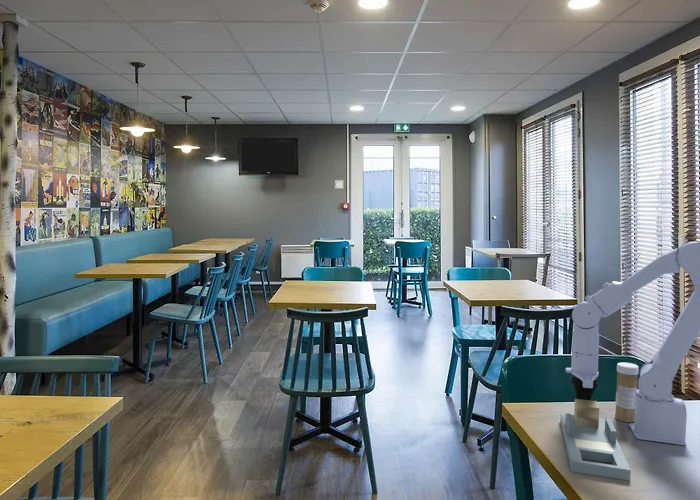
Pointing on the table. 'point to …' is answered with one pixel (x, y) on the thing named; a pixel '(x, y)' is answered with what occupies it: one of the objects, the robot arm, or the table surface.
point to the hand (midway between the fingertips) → (582, 408)
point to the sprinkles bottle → (626, 391)
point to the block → (586, 413)
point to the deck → (594, 449)
